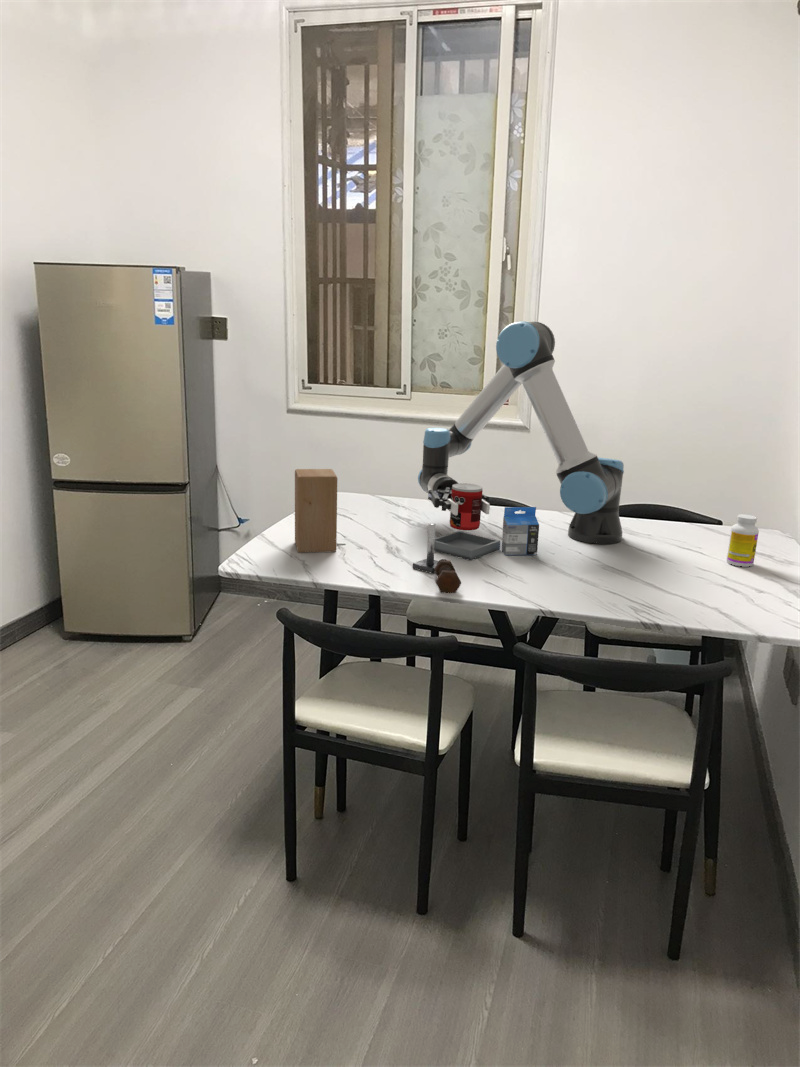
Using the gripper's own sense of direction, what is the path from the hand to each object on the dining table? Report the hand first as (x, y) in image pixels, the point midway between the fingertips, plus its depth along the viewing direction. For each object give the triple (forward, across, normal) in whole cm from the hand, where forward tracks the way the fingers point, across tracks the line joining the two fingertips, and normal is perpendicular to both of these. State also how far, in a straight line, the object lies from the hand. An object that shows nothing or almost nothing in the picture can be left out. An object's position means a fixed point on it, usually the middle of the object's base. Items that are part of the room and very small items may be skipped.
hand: (472, 509), depth 203 cm
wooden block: (-13, +38, -13) cm, 42 cm away
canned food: (-5, 0, -6) cm, 8 cm away
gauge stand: (+9, +14, -12) cm, 20 cm away
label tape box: (+1, -14, -12) cm, 18 cm away
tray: (-4, 0, -12) cm, 13 cm away
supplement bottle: (+18, -69, -12) cm, 72 cm away
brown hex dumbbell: (+19, +13, -13) cm, 27 cm away
